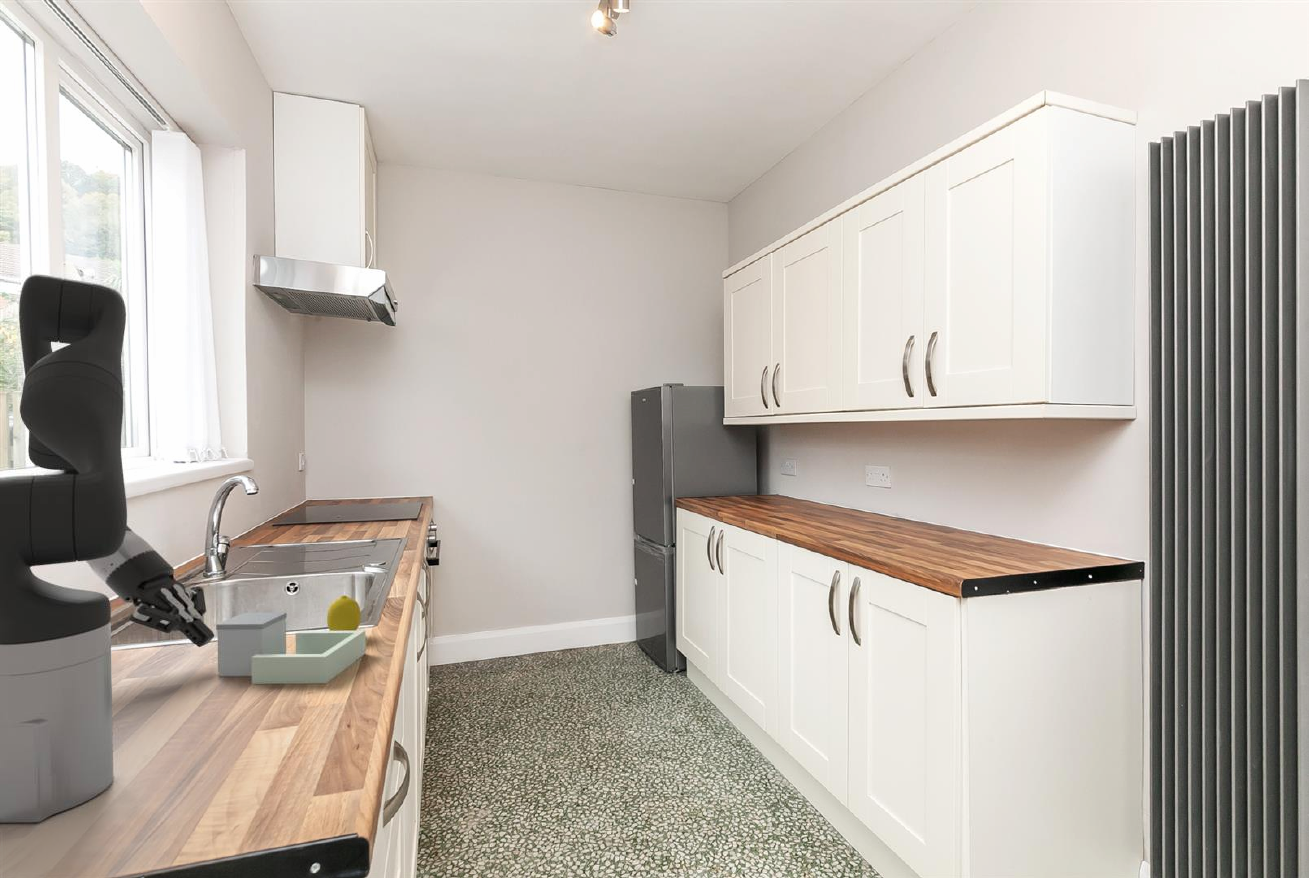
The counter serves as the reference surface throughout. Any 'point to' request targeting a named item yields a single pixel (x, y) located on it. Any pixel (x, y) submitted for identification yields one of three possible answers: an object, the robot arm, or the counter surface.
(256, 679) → the bay
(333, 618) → the lemon
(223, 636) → the lidded grey box
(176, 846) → the counter surface
